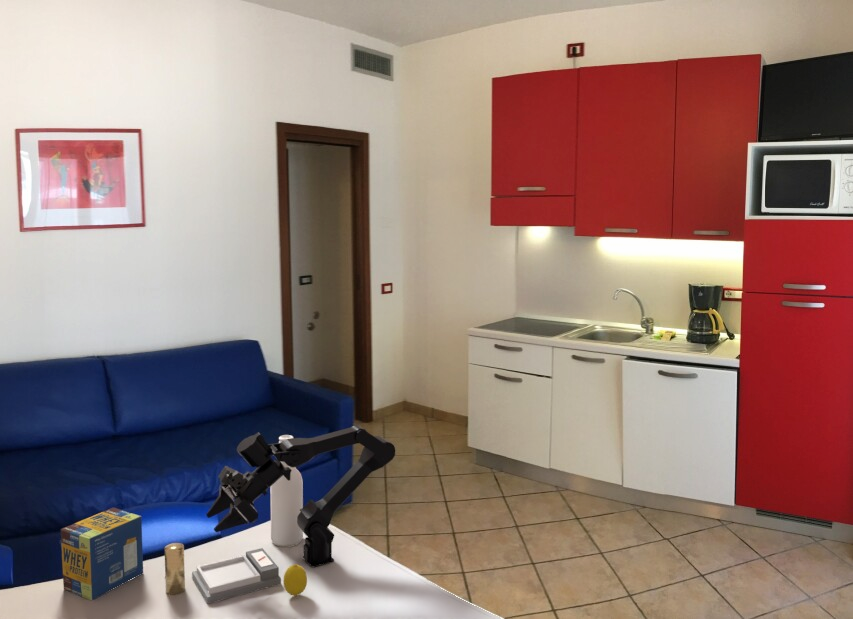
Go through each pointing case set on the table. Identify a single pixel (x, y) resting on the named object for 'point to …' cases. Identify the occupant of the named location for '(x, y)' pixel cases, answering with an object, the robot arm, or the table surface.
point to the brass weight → (174, 568)
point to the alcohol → (286, 507)
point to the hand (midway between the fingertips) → (210, 523)
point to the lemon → (295, 580)
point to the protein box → (101, 552)
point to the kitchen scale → (236, 576)
